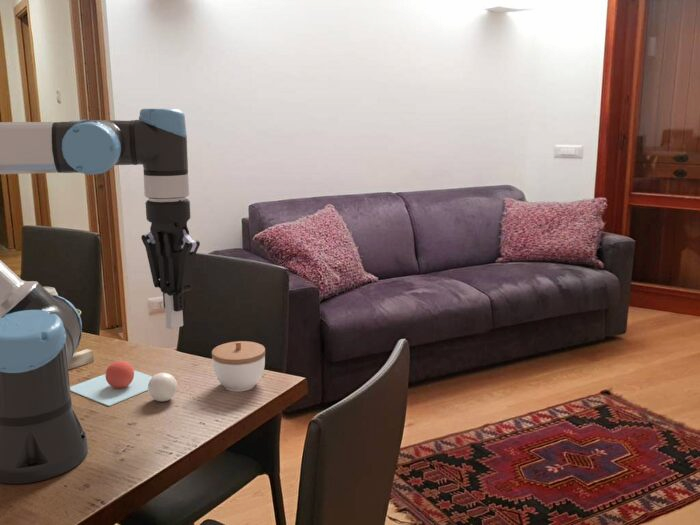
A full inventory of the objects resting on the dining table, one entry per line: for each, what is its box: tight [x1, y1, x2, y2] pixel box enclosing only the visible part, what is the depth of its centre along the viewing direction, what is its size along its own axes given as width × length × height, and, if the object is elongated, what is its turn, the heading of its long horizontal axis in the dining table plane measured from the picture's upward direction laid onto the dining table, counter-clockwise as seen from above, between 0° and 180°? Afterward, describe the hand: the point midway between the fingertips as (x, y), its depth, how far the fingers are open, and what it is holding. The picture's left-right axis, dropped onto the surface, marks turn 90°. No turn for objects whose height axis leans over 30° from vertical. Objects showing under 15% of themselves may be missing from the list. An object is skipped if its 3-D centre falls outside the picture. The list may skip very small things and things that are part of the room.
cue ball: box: [148, 372, 178, 402], centre depth 129 cm, size 6×6×6 cm
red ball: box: [104, 360, 134, 388], centre depth 135 cm, size 6×6×6 cm
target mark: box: [70, 369, 153, 407], centre depth 136 cm, size 14×14×1 cm
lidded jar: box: [211, 340, 266, 393], centre depth 135 cm, size 11×11×9 cm
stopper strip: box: [68, 348, 95, 370], centre depth 145 cm, size 11×2×2 cm, turn 145°
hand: (174, 326), depth 122 cm, fingers closed
